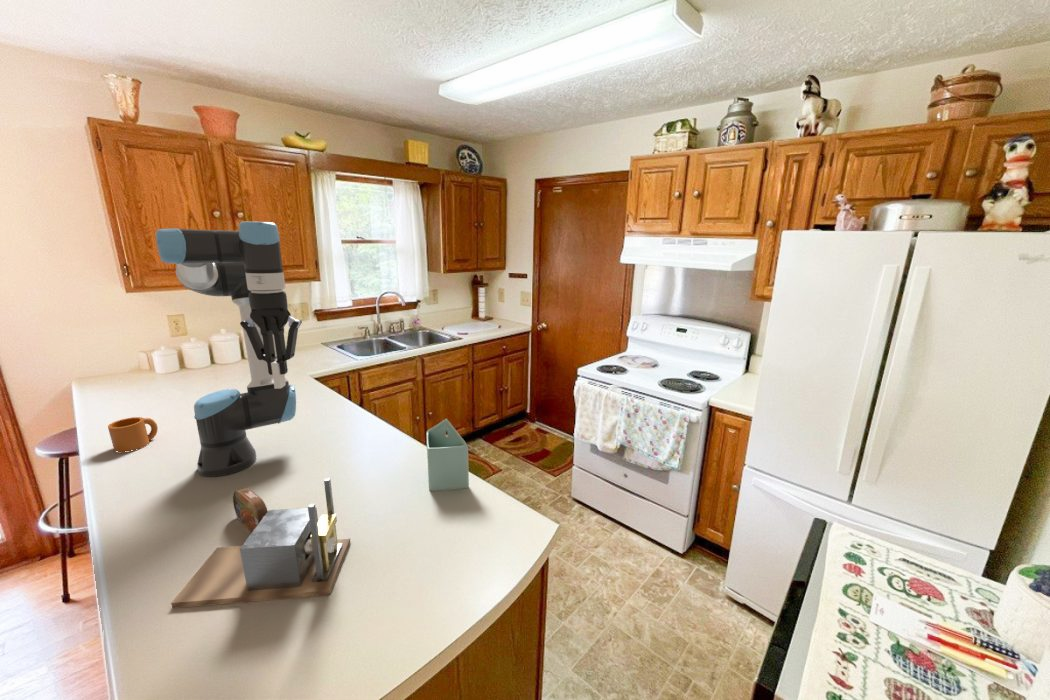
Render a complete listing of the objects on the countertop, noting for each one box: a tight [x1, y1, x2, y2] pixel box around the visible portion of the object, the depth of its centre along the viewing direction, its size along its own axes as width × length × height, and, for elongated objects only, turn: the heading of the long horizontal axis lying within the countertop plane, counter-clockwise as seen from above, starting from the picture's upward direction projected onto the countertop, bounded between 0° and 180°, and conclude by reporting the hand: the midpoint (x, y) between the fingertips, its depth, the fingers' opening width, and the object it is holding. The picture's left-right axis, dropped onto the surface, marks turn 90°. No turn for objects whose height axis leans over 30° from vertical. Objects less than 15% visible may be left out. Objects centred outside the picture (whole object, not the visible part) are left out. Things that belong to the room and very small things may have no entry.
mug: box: [107, 416, 158, 452], centre depth 140 cm, size 9×12×9 cm
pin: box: [304, 538, 335, 555], centre depth 88 cm, size 16×6×6 cm, turn 97°
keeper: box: [310, 513, 338, 571], centre depth 89 cm, size 3×7×9 cm, turn 7°
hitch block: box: [240, 477, 342, 591], centre depth 87 cm, size 15×12×18 cm
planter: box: [426, 418, 470, 492], centre depth 120 cm, size 16×8×20 cm, turn 57°
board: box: [170, 538, 351, 609], centre depth 89 cm, size 29×15×1 cm, turn 97°
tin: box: [232, 487, 269, 533], centre depth 103 cm, size 15×3×8 cm, turn 54°
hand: (280, 386), depth 102 cm, fingers closed
